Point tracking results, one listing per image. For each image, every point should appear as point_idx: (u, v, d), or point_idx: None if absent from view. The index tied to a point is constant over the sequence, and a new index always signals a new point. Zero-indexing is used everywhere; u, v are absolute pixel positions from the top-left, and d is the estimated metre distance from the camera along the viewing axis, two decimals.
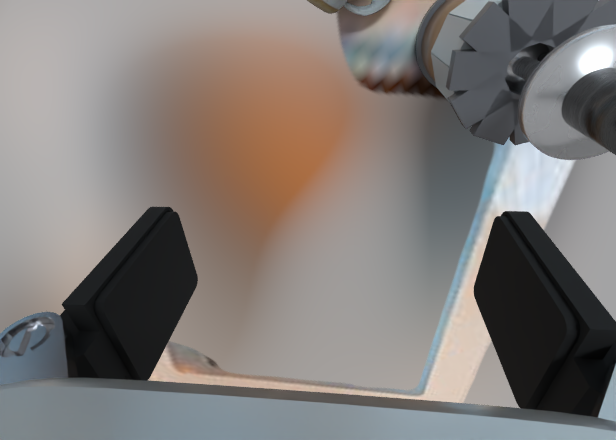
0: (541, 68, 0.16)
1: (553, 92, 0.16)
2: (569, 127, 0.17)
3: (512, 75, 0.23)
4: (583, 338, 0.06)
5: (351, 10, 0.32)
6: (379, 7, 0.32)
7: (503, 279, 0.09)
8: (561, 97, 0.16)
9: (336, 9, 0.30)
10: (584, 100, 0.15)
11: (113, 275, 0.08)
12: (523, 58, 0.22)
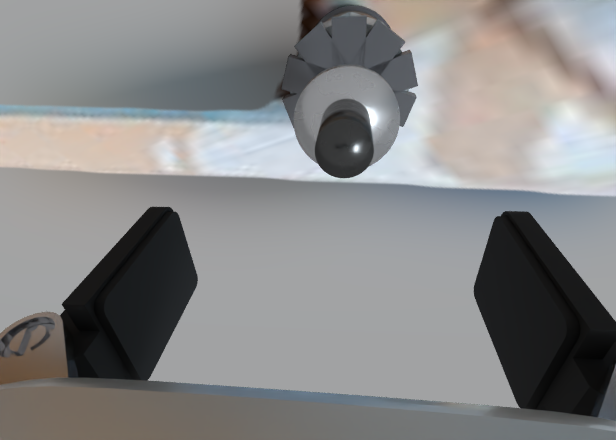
0: (372, 72, 0.18)
1: (352, 88, 0.19)
2: (322, 112, 0.19)
3: None
4: (583, 338, 0.06)
5: None
6: None
7: (503, 279, 0.09)
8: (348, 96, 0.19)
9: None
10: (352, 107, 0.18)
11: (113, 275, 0.08)
12: None
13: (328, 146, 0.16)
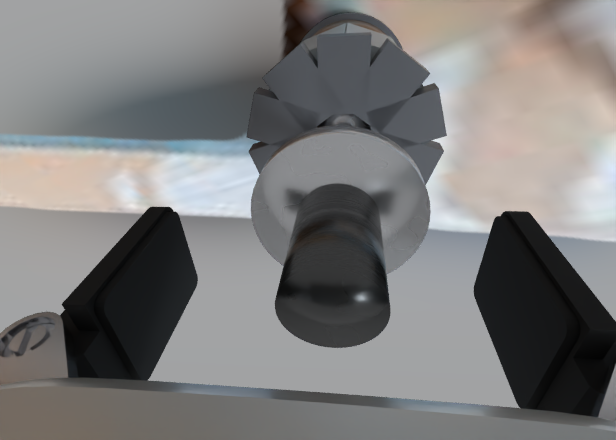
0: (383, 141, 0.10)
1: (349, 167, 0.11)
2: (298, 202, 0.11)
3: (333, 125, 0.18)
4: (583, 338, 0.06)
5: None
6: None
7: (503, 279, 0.09)
8: (342, 179, 0.11)
9: None
10: (348, 208, 0.10)
11: (113, 275, 0.08)
12: None
13: (301, 303, 0.08)
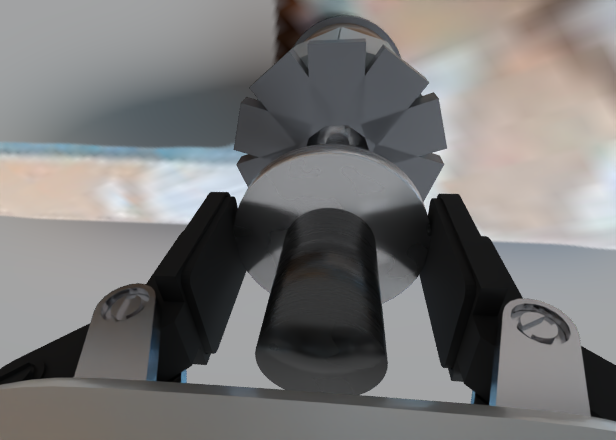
0: (379, 162, 0.09)
1: (341, 190, 0.10)
2: (285, 228, 0.10)
3: (326, 136, 0.17)
4: (478, 296, 0.07)
5: None
6: None
7: (434, 254, 0.10)
8: (333, 204, 0.10)
9: None
10: (340, 239, 0.09)
11: (192, 251, 0.08)
12: (348, 142, 0.17)
13: (285, 353, 0.07)
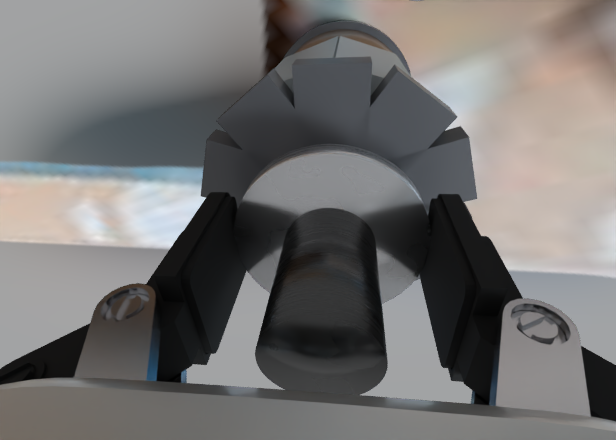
0: (379, 162, 0.09)
1: (341, 191, 0.10)
2: (286, 228, 0.10)
3: None
4: (478, 296, 0.07)
5: None
6: None
7: (434, 254, 0.10)
8: (333, 204, 0.10)
9: None
10: (340, 239, 0.09)
11: (192, 251, 0.08)
12: None
13: (286, 353, 0.07)
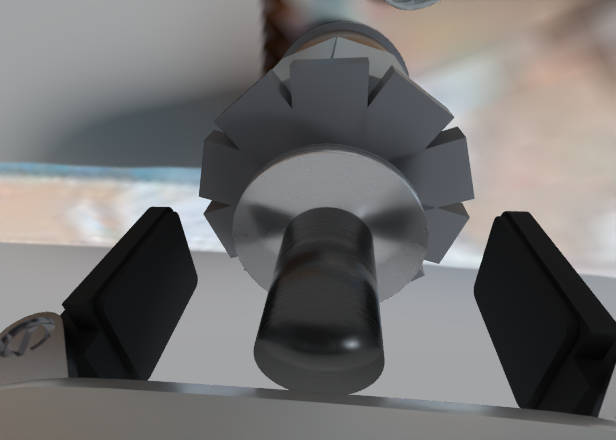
0: (376, 161, 0.09)
1: (339, 190, 0.10)
2: (284, 227, 0.10)
3: None
4: (583, 338, 0.06)
5: None
6: None
7: (503, 279, 0.09)
8: (331, 203, 0.10)
9: None
10: (337, 238, 0.09)
11: (113, 275, 0.08)
12: None
13: (283, 351, 0.07)
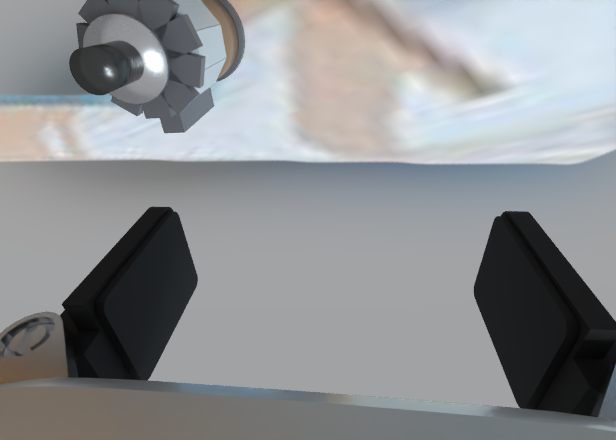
0: (131, 18, 0.24)
1: (119, 31, 0.24)
2: None
3: None
4: (583, 338, 0.06)
5: None
6: None
7: (503, 279, 0.09)
8: (118, 38, 0.24)
9: None
10: (112, 43, 0.23)
11: (113, 275, 0.08)
12: None
13: (79, 68, 0.22)
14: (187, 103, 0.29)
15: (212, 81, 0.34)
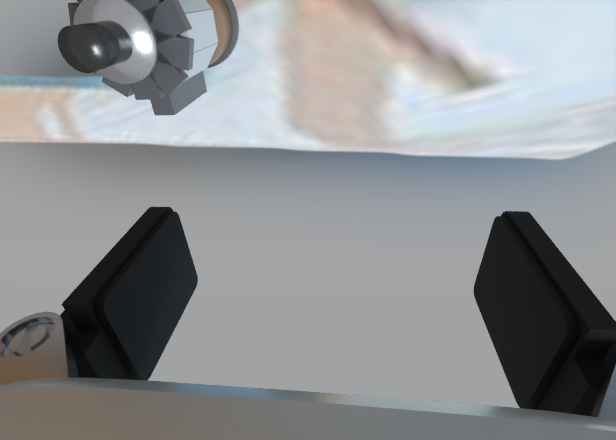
0: None
1: (108, 11, 0.25)
2: None
3: None
4: (583, 338, 0.06)
5: None
6: None
7: (503, 279, 0.09)
8: (107, 18, 0.25)
9: None
10: (100, 22, 0.24)
11: (113, 275, 0.08)
12: None
13: (67, 46, 0.23)
14: (176, 85, 0.30)
15: (203, 65, 0.34)
